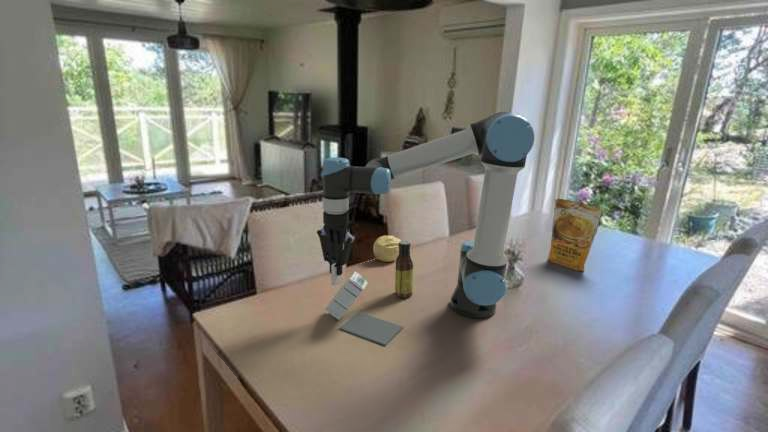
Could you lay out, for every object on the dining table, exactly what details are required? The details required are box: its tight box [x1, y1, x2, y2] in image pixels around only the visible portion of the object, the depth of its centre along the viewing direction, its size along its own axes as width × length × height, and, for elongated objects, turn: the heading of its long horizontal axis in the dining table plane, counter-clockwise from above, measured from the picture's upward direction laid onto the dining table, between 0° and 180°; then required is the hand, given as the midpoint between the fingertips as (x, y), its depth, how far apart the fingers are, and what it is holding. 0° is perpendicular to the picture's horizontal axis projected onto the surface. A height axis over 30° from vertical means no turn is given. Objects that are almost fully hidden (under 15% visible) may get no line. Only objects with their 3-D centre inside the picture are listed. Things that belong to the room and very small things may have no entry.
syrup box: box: [325, 271, 369, 321], centre depth 127 cm, size 6×6×14 cm
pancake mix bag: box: [547, 198, 603, 272], centre depth 173 cm, size 7×19×28 cm, turn 40°
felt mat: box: [338, 311, 404, 347], centre depth 123 cm, size 16×11×1 cm
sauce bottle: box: [394, 240, 414, 299], centre depth 142 cm, size 6×6×20 cm
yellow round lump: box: [372, 235, 402, 263], centre depth 174 cm, size 12×12×11 cm
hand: (336, 283), depth 126 cm, fingers closed
